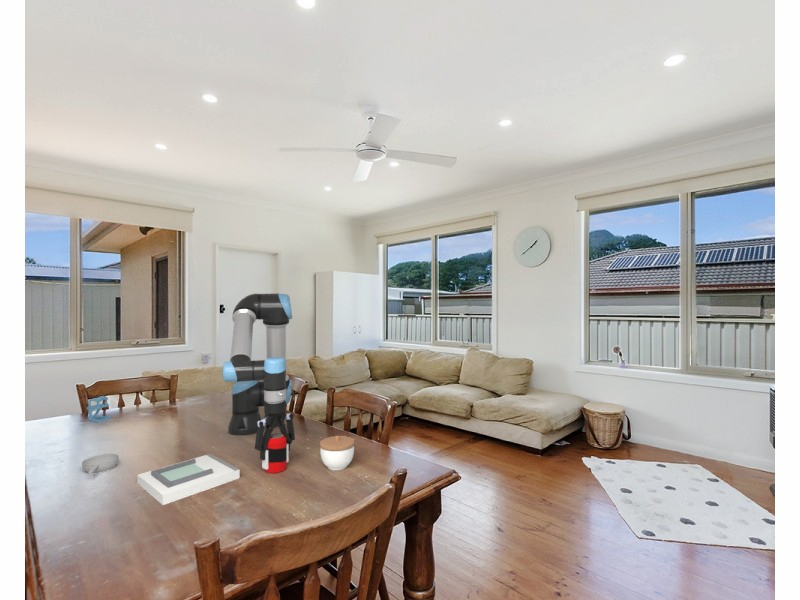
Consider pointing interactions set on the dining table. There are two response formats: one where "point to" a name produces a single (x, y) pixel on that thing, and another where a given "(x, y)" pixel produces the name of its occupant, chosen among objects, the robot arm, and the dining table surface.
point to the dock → (187, 478)
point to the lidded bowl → (337, 451)
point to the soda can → (276, 453)
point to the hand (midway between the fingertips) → (275, 464)
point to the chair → (97, 409)
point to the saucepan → (100, 463)
